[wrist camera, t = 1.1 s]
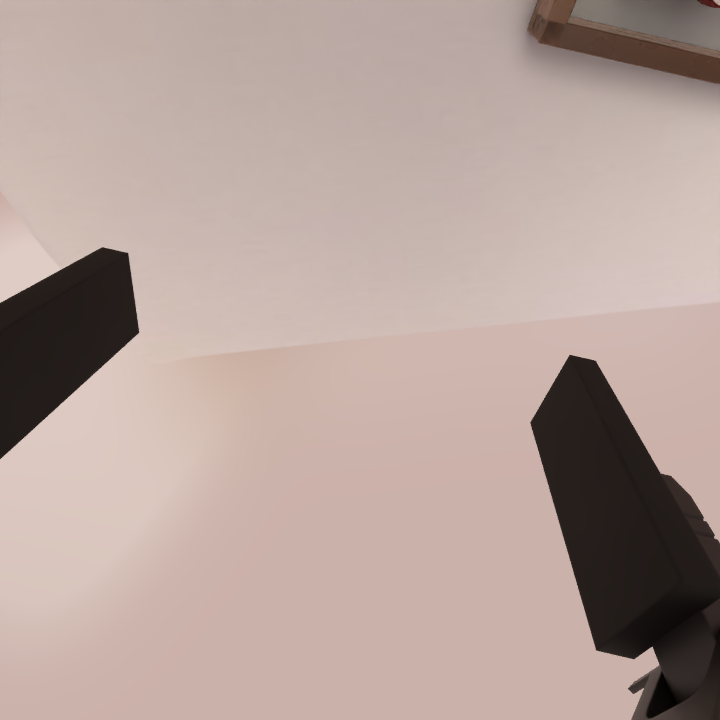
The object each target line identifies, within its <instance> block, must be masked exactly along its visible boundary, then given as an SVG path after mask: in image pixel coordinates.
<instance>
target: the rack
mask: <svg viewBox="0 0 720 720" xmlns="http://www.w3.org/2000/svg"><path fill="white" fill-rule="evenodd" d="M575 2H576V0H538V2H537V5H536V7H535V10H534V13H533V16H532V18H531V21H530V24H529V27H528V29H527V31H528V32H529V33H530V34H531V35H532V36H533V37H534V38H535V39H536V40H537V41H538V42H539V43H541V44H545V45H550V46H554V47H558V48H563V49H567V50H571V51H576V52H580V53H585V54H589V55H593V56H598V57H602V58H606V59H611V60H615V61H619V62H624V63H628V64H633V65H637V66H641V67H646V68H650V69H654V70H659V71H663V72H667V73H672V74H676V75H681V76H685V77H689V78H694V79H698V80H702V81H707V82H711V83H715V84H720V52H719V51H715V50H711V49H707V48H702V47H698V46H694V45H690V44H685V43H681V42H677V41H673V40H668V39H664V38H660V37H656V36H651V35H647V34H643V33H639V32H634V31H630V30H626V29H622V28H617V27H613V26H609V25H605V24H600V23H596V22H592V21H588V20H583V19H579V18H575V17H571V16H570V14H571V12H572V10H573V7H574V5H575Z"/></svg>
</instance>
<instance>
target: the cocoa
mask: <svg viewBox="0 0 720 720" xmlns="http://www.w3.org/2000/svg"><path fill="white" fill-rule="evenodd" d="M698 1H699V2H700V3H701V4H703V5H706V6H710V7H714V8H720V0H698Z"/></svg>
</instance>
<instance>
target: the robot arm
mask: <svg viewBox="0 0 720 720" xmlns="http://www.w3.org/2000/svg"><path fill="white" fill-rule="evenodd" d="M138 333H139V328H138V320H137V313H136V306H135V299H134V292H133V285H132V278H131V270H130V263H129V256H128V253H125V252H121V251H116V250H112V249H108V248H103V247H102V248H100V249H98V250H96V251H95V252H93V253H91V254H89V255H87V256H85V257H84V258H82V259H80V260H78V261H76V262H74V263H73V264H71V265H69V266H67V267H65V268H63V269H62V270H60V271H58V272H56V273H54V274H53V275H51V276H49V277H47V278H45V279H43V280H42V281H40V282H38V283H36V284H34V285H32V286H31V287H29V288H27V289H25V290H23V291H21V292H20V293H18V294H16V295H14V296H12V297H10V298H9V299H7V300H5V301H3V302H1V303H0V459H1V458H2V457H3V456H4V455H5V454H6V453H7V452H8V451H10V450H11V449H12V448H13V447H14V446H15V445H16V444H17V443H18V442H20V441H21V440H22V439H23V438H24V437H25V436H26V435H27V434H28V433H29V432H31V431H32V430H33V429H34V428H35V427H36V426H37V425H38V424H39V423H40V422H42V421H43V420H44V419H45V418H46V417H47V416H48V415H49V414H50V413H51V412H53V411H54V410H55V409H56V408H57V407H58V406H59V405H60V404H61V403H62V402H64V401H65V400H66V399H67V398H68V397H69V396H70V395H71V394H72V393H73V392H74V391H76V390H77V389H78V388H79V387H80V386H81V385H82V384H83V383H84V382H85V381H87V380H88V379H89V378H90V377H91V376H92V375H93V374H94V373H95V372H96V371H98V369H100V368H101V367H102V366H103V365H104V364H105V363H106V362H107V361H109V360H110V359H111V358H112V357H113V356H114V355H115V354H116V353H117V352H118V351H120V350H121V349H122V348H123V347H124V346H125V345H126V344H127V343H128V342H129V341H130V340H132V339H133V338H134V337H135V336H136V335H137V334H138ZM531 427H532V430H533V434H534V437H535V440H536V444H537V447H538V451H539V454H540V458H541V461H542V465H543V468H544V472H545V475H546V478H547V482H548V485H549V489H550V492H551V496H552V499H553V503H554V506H555V509H556V513H557V516H558V520H559V523H560V527H561V530H562V534H563V537H564V541H565V544H566V547H567V551H568V554H569V558H570V561H571V564H572V568H573V572H574V575H575V578H576V582H577V585H578V589H579V592H580V595H581V599H582V603H583V606H584V609H585V613H586V616H587V620H588V623H589V627H590V630H591V634H592V637H593V640H594V644H595V647H596V650H597V651H601V652H605V653H610V654H614V655H618V656H622V657H627V658H631V659H635V658H636V657H638V656H639V655H641V654H642V653H643V652H645V651H646V650H648V649H649V648H651V647H652V646H653V649H654V652H655V654H656V657H657V659H658V662H659V664H660V666H658V667H656V668H655V669H654V670H652V671H650V672H649V673H647V674H646V675H644V676H643V677H641V678H640V679H638V680H637V681H635V682H634V683H633V684H632V685H631V686H630V687H629V688H628V689H629V690H630V691H631V692H632V693H633V694H634V693H636V692H638V691H639V690H641V689H642V688H644V690H643V693H642V695H641V698H640V700H639V702H638V705H637V707H636V710H635V712H634V715H633V717H632V720H720V543H719V541H718V540H717V539H714V536H715V535H714V533H713V531H712V530H711V528H710V527H709V525H708V523H707V522H706V521H703V518H704V517H703V515H702V514H701V512H700V510H699V509H698V507H697V505H696V504H695V502H694V501H693V499H692V497H691V496H690V495H689V494H688V493H687V492H686V491H685V490H684V489H683V488H682V487H681V486H680V485H679V484H678V483H677V482H676V481H675V480H674V479H673V478H672V477H671V476H669V475H664V474H660V472H659V470H658V468H657V467H656V465H655V463H654V461H653V460H652V458H651V456H650V454H649V453H648V451H647V449H646V448H645V446H644V444H643V442H642V441H641V439H640V437H639V435H638V434H637V432H636V430H635V428H634V427H633V425H632V423H631V422H630V420H629V418H628V416H627V414H626V413H625V411H624V409H623V407H622V406H621V404H620V402H619V401H618V399H617V397H616V395H615V394H614V392H613V390H612V388H611V387H610V385H609V384H608V382H607V380H606V378H605V376H604V375H603V373H602V371H601V369H600V368H599V366H598V364H597V362H596V361H594V360H590V359H586V358H581V357H577V356H572V355H569V357H568V359H567V361H566V362H565V364H564V366H563V367H562V369H561V371H560V373H559V374H558V376H557V378H556V379H555V381H554V383H553V385H552V386H551V388H550V390H549V392H548V393H547V395H546V397H545V398H544V400H543V402H542V404H541V405H540V407H539V409H538V411H537V412H536V414H535V416H534V417H533V419H532V421H531Z"/></svg>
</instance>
